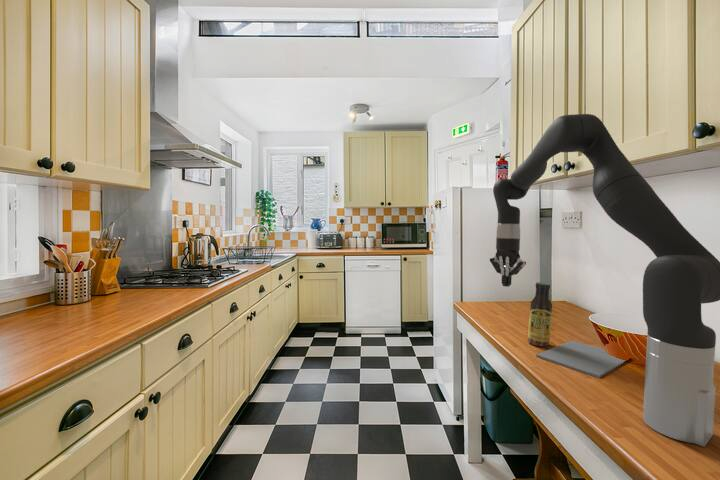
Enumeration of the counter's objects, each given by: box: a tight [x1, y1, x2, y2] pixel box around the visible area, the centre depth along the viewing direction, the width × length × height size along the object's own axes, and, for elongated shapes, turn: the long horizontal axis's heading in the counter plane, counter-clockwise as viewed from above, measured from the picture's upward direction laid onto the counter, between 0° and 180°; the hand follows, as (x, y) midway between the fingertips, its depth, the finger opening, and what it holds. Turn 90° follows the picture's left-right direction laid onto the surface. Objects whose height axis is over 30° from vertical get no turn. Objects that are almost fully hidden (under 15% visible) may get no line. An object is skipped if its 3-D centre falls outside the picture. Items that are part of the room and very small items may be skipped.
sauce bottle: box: [527, 282, 553, 348], centre depth 107 cm, size 6×6×20 cm
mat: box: [535, 340, 626, 379], centre depth 97 cm, size 16×22×1 cm
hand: (506, 286), depth 117 cm, fingers closed
